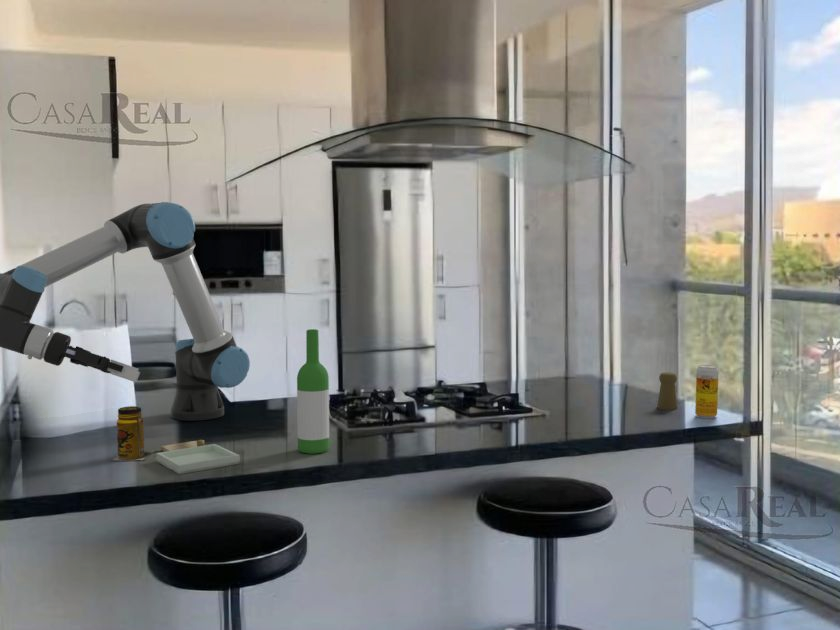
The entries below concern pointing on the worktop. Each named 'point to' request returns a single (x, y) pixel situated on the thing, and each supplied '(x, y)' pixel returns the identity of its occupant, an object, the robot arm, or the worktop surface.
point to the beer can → (706, 391)
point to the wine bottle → (312, 400)
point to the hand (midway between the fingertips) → (137, 375)
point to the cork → (667, 391)
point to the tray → (197, 458)
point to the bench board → (182, 445)
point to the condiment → (130, 434)
